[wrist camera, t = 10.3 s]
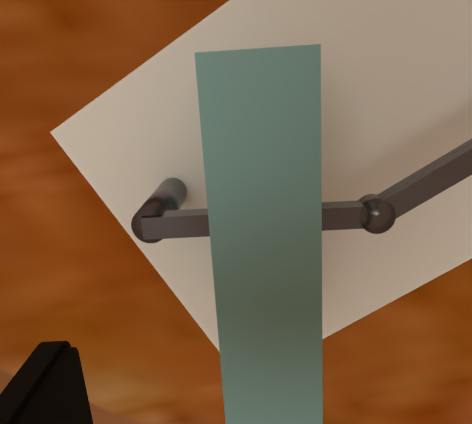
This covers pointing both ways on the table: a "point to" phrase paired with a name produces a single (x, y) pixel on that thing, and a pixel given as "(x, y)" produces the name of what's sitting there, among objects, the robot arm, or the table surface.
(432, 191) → the dark hinged linkage
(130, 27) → the table surface
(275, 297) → the teal rectangular frame
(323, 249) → the base board
